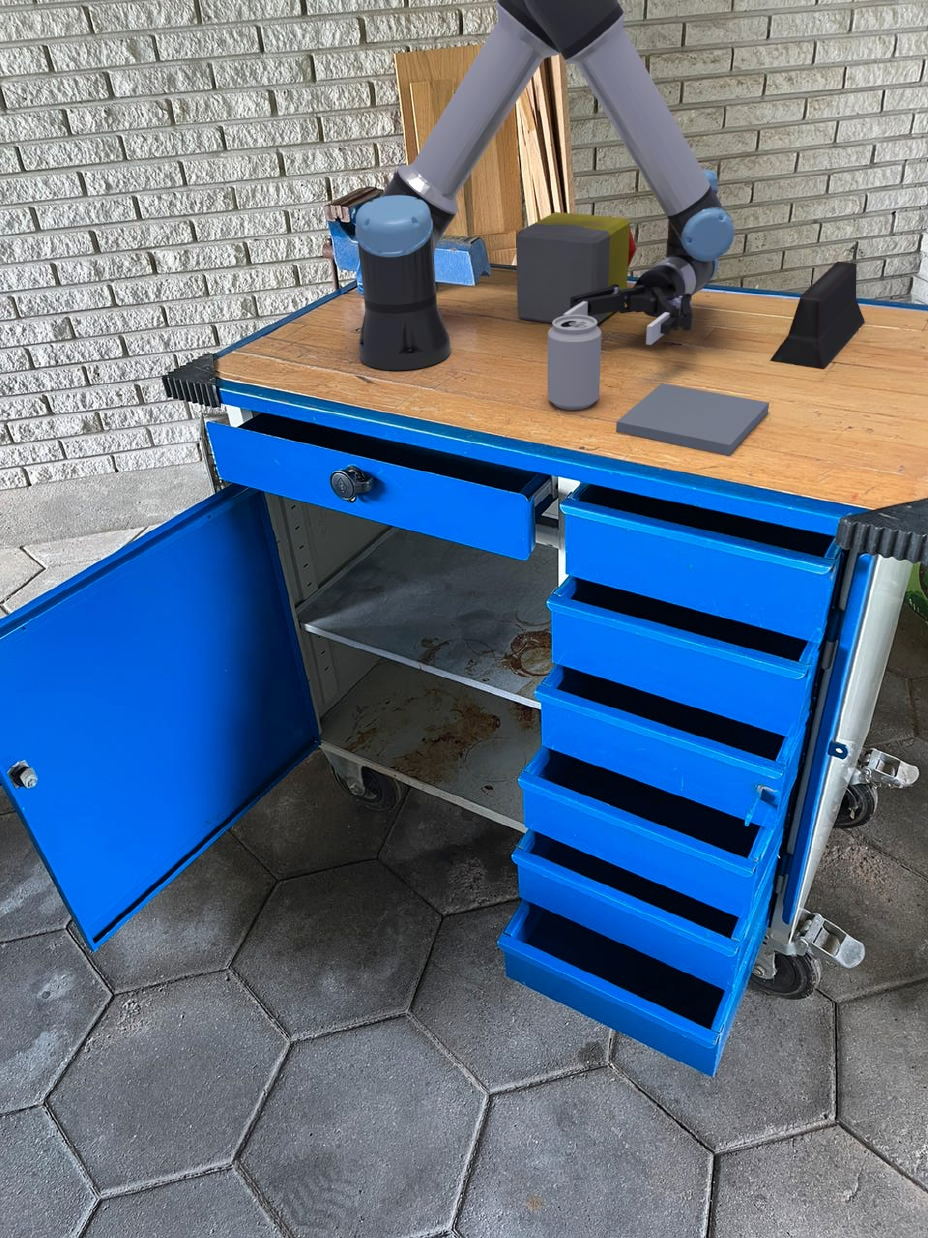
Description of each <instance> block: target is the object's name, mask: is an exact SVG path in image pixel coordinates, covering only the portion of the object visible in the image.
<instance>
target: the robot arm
mask: <svg viewBox="0 0 928 1238" xmlns="http://www.w3.org/2000/svg"><path fill="white" fill-rule="evenodd" d="M495 6H496V12H497V22H496V24H495V25H494V27H493V29H492V30H491V32H490V34H489V35H488V37H487V38H486V40H485V42H484V44H483V46H482V47H481V49H480V50H479V52H478V53H477V56H476V57H475V59H474V60H473V62H472V63H471V65H470V66H469V69H468V70H467V72H466V73H465V75H464V77H463V79H462V80H461V82H460V84H459V85H458V87H457V89H456V90H455V92H454V93H453V95H452V97H451V99H450V100H449V102H448V104H447V105H446V107H445V109H444V110H443V112H442V114H441V116H440V118H439V119H438V120H437V122H436V124H435V126H434V127H433V128H432V129H431V132H430V134H429V135H428V137H427V138H426V140H425V142H424V143H423V145H422V147H421V149H420V151H418V154H417V155H416V157H415V159H414V160H413V162H412V163H411V164H406V165H401V166H399V167H398V168H397V170H396V172H395V174H394V175H393V177H392V178H391V181H390V182H389V184H388V185H387V187H386V188H385V190H384V192H383V193H382V195H381V196H379V197H378V198H373V199H372V201H368V202H366V203H364V204H363V205H362V206H360V208H359V209H358V210H357V213H356V214H355V215H356V216H355V229H354V233H355V237H356V240H357V241H356V242H357V248H358V257H359V258H358V259H359V264H360V265H359V266H360V273H361V285H362V294H363V300H364V316H363V319H362V320H363V321H362V326H361V330H360V337H359V340H358V352H359V353H358V354H359V358H360V361H361V362H362V363H363V364H364V365H365V366H369V367H370V368H374V369H379V370H385V371H407V370H408V371H409V370H416V369H417V370H418V369H423V368H426V367H430V366H433V365H436V364H439V363H440V362H442V361H444V360H445V359H447V358H448V357H449V356H450V355H451V352H452V351H451V339H450V334H449V333H448V332H447V328H446V325H445V323H444V320H443V318H442V314H441V312H440V310H439V307H438V303H437V301H438V300H437V298H438V297H437V286H436V285H437V284H436V272H435V252H436V249H437V248H436V247H437V245H438V243H439V241H440V239H442V237H443V235H444V234H445V232H446V231H447V229H448V227H449V226H450V224H451V223H452V221H453V220H454V218H455V217H456V215H457V213H458V212H459V208H458V203H457V196H458V194H459V192H460V191H461V190H462V188H463V187H464V185H465V183H466V181H467V180H468V178H469V176H471V174H472V172H473V171H474V169H475V167H476V166H477V165H478V163H479V161H480V160H481V158H482V156H483V155H484V153H485V152H486V150H487V148H488V147H489V145H490V144H491V142H492V141H493V139H494V138H495V136H496V134H497V133H498V132H499V130H500V128H501V127H502V125H503V123H505V121H506V119H507V118H508V116H509V115H510V113H511V112H512V111H511V110H513V108H514V107H515V105H516V104H517V102H518V100H519V99H520V97H521V95H522V93H523V92H524V90H525V89H526V88H527V86H528V85H529V83H530V81H531V79H532V78H533V77H534V75H535V73H536V72H537V70H538V69H539V68H540V66H541V64H542V62H543V60H545V59H547V58H551V57H555V56H559V54H561V56H562V58H563V59H564V61H565V62H566V63H570V64H574V65H576V66H577V68H578V70H579V72H580V73H581V74H582V76H583V78H584V79H585V81H586V83H587V85H588V86H589V89H591V91H592V93H593V95H594V96H595V98H596V99H597V101H598V103H599V105H600V106H601V109H602V110H603V111H604V113H605V115H606V117H607V118H608V120H609V122H610V123H611V125H612V127H613V128H614V130H615V132H616V133H617V135H618V137H619V138H620V140H621V142H622V144H623V145H624V147H625V149H626V151H627V153H628V154H629V156H630V157H631V159H632V160H633V162H634V164H635V165H636V167H637V169H638V170H639V172H640V174H641V175H642V177H643V179H644V180H645V182H646V184H647V186H648V187H649V189H650V191H651V192H652V194H653V195H654V197H655V198H656V201H657V203H658V204H659V205H660V207H661V209H662V210H663V212H664V214H665V216H666V217H667V220H668V221H667V238H666V249H665V250H666V251H665V258H664V259H663V260H662V261H660V262H659V263H657V264H655V265H653V267H651V268H650V269H648V270H646V271H645V272H644V273H642V274H641V275H640V276H639V277H638V279H637V280H636V282H635V283H634V285H633V287H629V288H627V289H622V290H619V285H618V284H614V285H611V286H609V287H607V288H604V289H600V290H596V291H592V292H588V293H584V294H580V295H577V296H573V297H570V309H569V310H568V311H567V312H566V313H564V314H563V316H566V315H586V316H591V315H597V314H603V313H610V312H613V313H615V312H619V313H620V314H629V313H634V312H635V313H643V314H645V315H647V316H648V317H652V318H656V319H654V320H652V322H650V323H649V324H647V326H646V337H645V345H649V346H652V345H653V344H654V343H655V342H657V341H658V340H659V339H661V338H662V337H663V336H665V335H668V334H670V333H672V331H678V329H679V328H682V331H686V332H689V331H691V330H692V324H693V323H692V322H693V309H692V297H693V296H694V295H695V294H696V293H698V292H699V291H701V290H703V289H704V288H706V286H708V285H709V283H710V282H711V281H712V280H713V279H714V278H715V277H716V274H717V272H718V269H719V264H720V263H719V258H721V257H723V255H725V254H726V253H727V252H728V250H729V249H730V248H731V246H732V244H733V242H734V237H735V228H734V223H733V220H732V218H731V216H730V214H729V213H728V211H726V210H725V208H724V206H723V205H722V203H721V201H720V199H719V198H718V193H719V189H718V180H719V179H718V174H717V173H716V172H715V171H713V170H710V169H707V168H706V169H704V168H702V167H701V165H700V162H699V161H698V160H697V158H696V156H695V154H694V152H693V150H692V148H691V147H690V146H689V145H690V144H689V143H688V142H687V140H686V138H685V136H684V135H683V132H682V130H681V129H680V127H679V125H678V123H677V122H676V120H675V119H674V116H673V114H672V113H671V110H670V109H669V107H668V106H667V103H666V102H665V100H664V98H663V97H662V95H661V93H660V91H659V89H658V88H657V86H656V84H655V82H654V80H653V78H652V77H651V75H650V73H649V71H648V70H647V68H646V66H645V65H644V63H643V60H642V59H641V57H640V55H639V53H638V51H637V50H636V48H635V46H634V45H633V43H632V41H631V39H630V37H629V36H628V34H627V32H626V30H625V29H624V20H625V16H626V15H625V11H624V10H623V8H622V6H621V5H620V2H619V0H497V1H496V4H495ZM625 306H626V307H625Z"/></svg>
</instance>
